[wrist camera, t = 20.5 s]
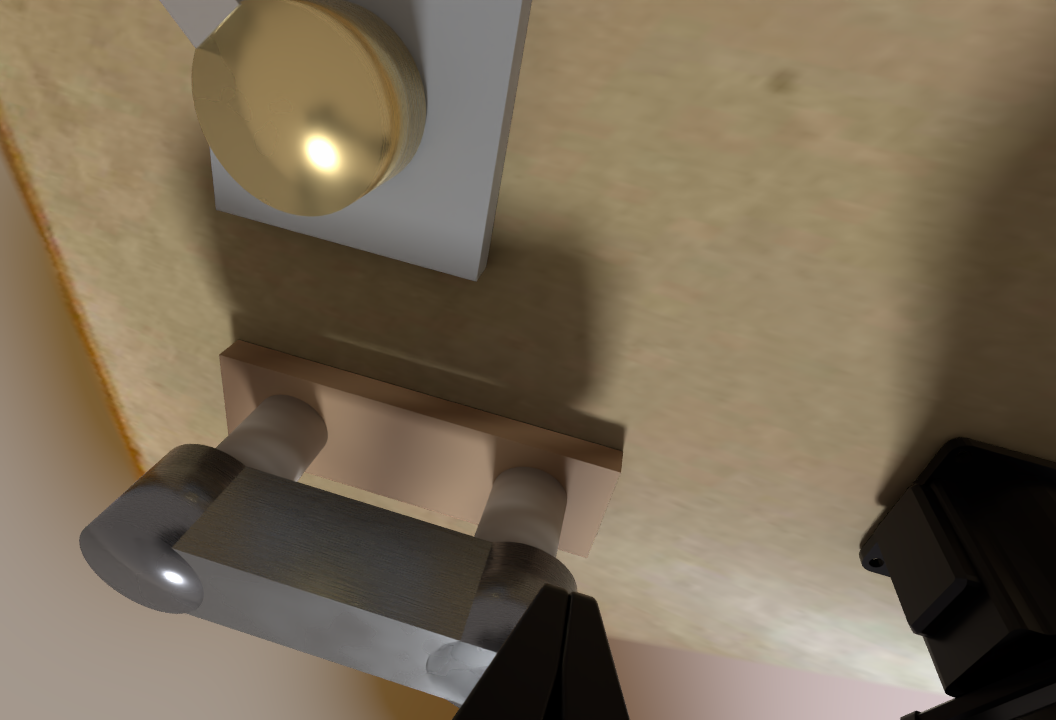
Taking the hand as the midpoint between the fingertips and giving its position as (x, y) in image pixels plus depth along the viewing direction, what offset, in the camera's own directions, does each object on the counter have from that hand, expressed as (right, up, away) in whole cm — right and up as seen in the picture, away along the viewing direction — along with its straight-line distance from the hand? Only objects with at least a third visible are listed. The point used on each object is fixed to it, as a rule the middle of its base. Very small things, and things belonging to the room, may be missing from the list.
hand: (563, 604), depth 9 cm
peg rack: (-5, 0, +15) cm, 16 cm away
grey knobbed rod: (-6, -2, +11) cm, 13 cm away
